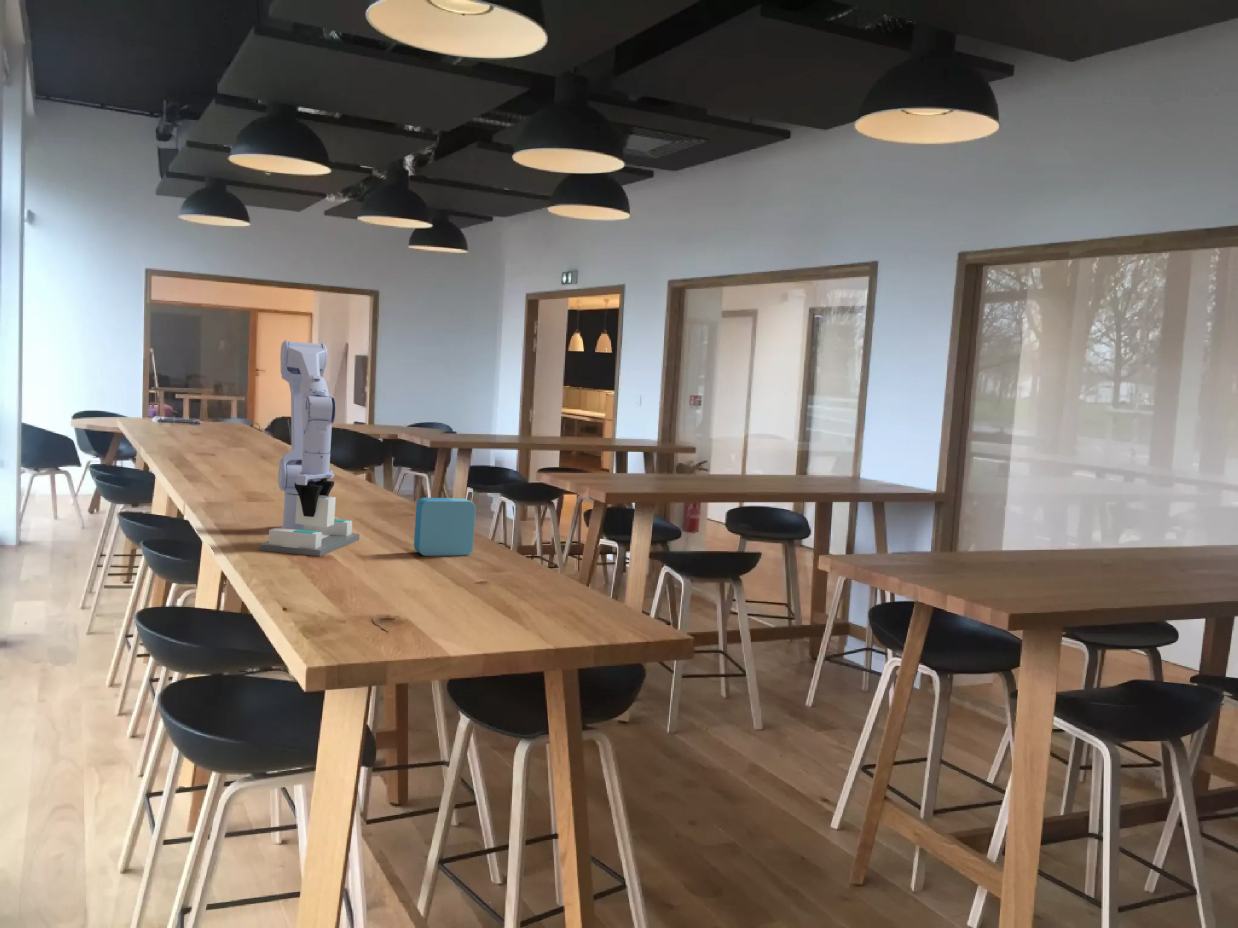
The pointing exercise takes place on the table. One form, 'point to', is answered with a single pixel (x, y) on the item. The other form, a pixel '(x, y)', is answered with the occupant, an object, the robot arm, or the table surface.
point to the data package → (444, 526)
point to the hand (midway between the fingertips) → (313, 514)
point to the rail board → (315, 552)
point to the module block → (318, 512)
